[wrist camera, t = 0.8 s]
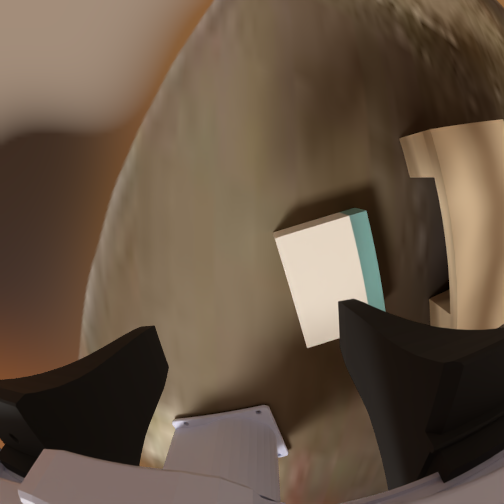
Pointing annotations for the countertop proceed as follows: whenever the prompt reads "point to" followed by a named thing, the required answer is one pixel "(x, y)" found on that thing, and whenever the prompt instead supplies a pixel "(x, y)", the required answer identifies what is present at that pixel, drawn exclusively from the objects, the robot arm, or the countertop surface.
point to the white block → (329, 270)
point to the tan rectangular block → (466, 218)
